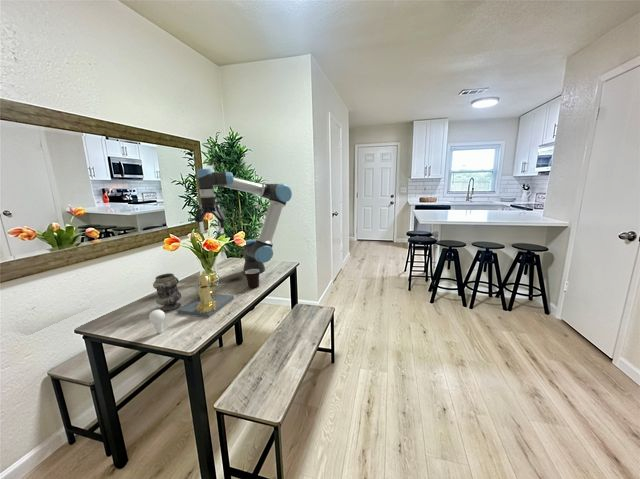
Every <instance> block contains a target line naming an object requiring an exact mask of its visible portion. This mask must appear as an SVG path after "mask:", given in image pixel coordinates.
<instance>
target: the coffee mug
mask: <svg viewBox="0 0 640 479" xmlns="http://www.w3.org/2000/svg"><path fill="white" fill-rule="evenodd" d="M244 274H245V277H246V282H247V286H248V289H251V290H253V289H257V288H259V287H260V273H259V270H258V269H250V270H247V271H245V273H244Z"/></svg>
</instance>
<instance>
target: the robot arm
mask: <svg viewBox="0 0 640 479" xmlns="http://www.w3.org/2000/svg"><path fill="white" fill-rule="evenodd" d="M196 176H197V177H196V178H197V182H198V184H197V185H198V188H199V189H198V190H199V196H200V199H199V200H200V204H199V205H197V206H196V207H197V208H196V213H195V217H194V222H197V225H198V228H199V234H205V226H204V221H203V219H204V218H205V216H206V215H207V214H211V215H213V216H214V217H215V218H216V219H217V220H218V228H219V234H220V235H223V234H225V222H227V218H226V216H225V214H224V212H223V211H222V208H221V205H220V204H216V199H215V193H214V192H215V190H214V187H215V186H216V187H217V186H218V187H223V188H228V189H232V190H237V191H240V192H246V193H249V194H255V195H258V197H260V198H264V199H267V200H268V202H269V206H268V209H267V211H266V212H267V213H266V215H265V219H264V222H263V225H262V227H261V231H260V234H259V237H258V238H253V239H247V240H245V241H246V245H244V246H243V245H242V248H243V254H244V255H243V256H244V264H243V274H245V271H247V270H250V269H258V270H259V274H262V273H264V272H265V271H266V267H265V263H268V262H269V261H271V259H272V258H273V257H274V250H273V246H274V243H273V238H274V235H275V232H276V228H277V226H278V223H279V220H280V216H281V214H282V210H283V208H284V207H286V205H287V202H289V201H290V200H291V199H292V196H293V192H292V190H291V187H290V186H289V185H287V184H285V183H265V182H261V183H258V182H253V181H250V180H246V179H242V178H239V177H234V175H233V173H232V172H231V171H217V172H213V171H212V169H211V168H198V169H197V170H196Z"/></svg>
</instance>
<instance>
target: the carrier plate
mask: <svg viewBox="0 0 640 479" xmlns="http://www.w3.org/2000/svg"><path fill="white" fill-rule="evenodd" d="M234 296H235V295H230V294H220V293H215V295H214V297H211V300H213V301H216V306H217V307H215V310H213V311H211V312H209V313H200V312H198V311H197V305H198V303H200V299H199V298H197V297H196V298H194V299H193V300H191V301H190V302H187V303H186V304H184V305H183V306H180V307H179V308H178V309H176V311H177V314H178V315H179V314H180V315H186V316H187V315H188V316H192V317H193V316H194V317H201V318H207V319H209V318H211V317H212V316H214V315H215V314H216V313H218V312H219V311H220V310H221V309H223V308H224V307H226V306H227V305H228V304H229V303H231V302H232V301H234V299H235V298H234Z"/></svg>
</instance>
